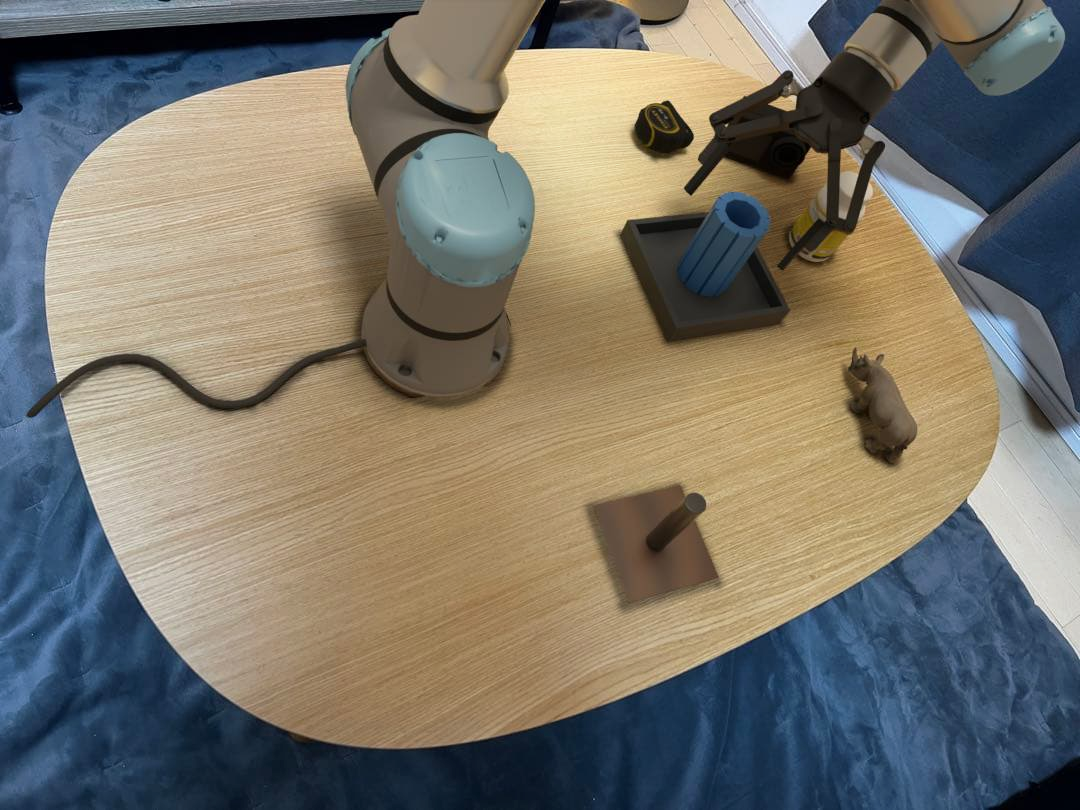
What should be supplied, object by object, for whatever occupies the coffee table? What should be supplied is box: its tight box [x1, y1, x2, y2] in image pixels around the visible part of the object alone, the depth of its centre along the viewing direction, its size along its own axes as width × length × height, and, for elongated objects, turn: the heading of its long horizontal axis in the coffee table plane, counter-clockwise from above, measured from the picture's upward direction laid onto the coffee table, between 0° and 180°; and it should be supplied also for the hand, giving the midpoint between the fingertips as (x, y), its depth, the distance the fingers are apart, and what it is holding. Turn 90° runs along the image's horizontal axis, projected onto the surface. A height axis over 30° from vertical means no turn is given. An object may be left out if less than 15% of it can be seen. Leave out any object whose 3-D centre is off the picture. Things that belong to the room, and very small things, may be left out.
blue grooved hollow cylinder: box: [677, 190, 771, 297], centre depth 97 cm, size 6×7×11 cm
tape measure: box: [634, 99, 695, 155], centre depth 111 cm, size 7×7×4 cm
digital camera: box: [724, 95, 812, 180], centre depth 113 cm, size 10×5×7 cm, turn 77°
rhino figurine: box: [847, 346, 918, 464], centre depth 96 cm, size 4×14×6 cm, turn 12°
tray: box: [619, 211, 792, 342], centre depth 101 cm, size 16×16×3 cm
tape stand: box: [592, 485, 720, 604], centre depth 79 cm, size 10×10×11 cm
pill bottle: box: [788, 170, 874, 263], centre depth 105 cm, size 6×6×11 cm
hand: (732, 230), depth 95 cm, fingers open, 13 cm apart
